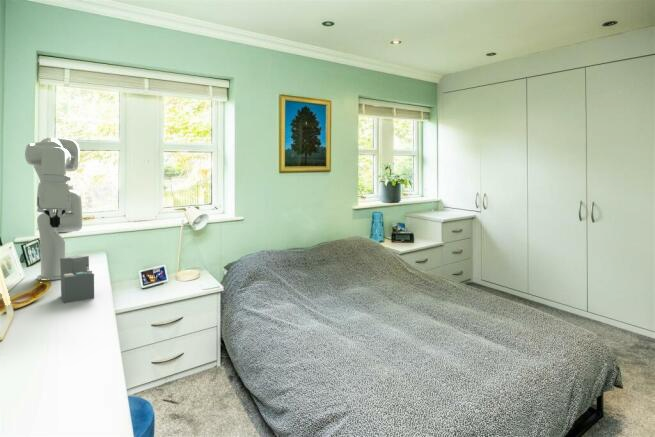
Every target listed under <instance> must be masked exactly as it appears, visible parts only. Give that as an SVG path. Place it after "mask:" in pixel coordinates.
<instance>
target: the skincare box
mask: <svg viewBox="0 0 655 437" xmlns="http://www.w3.org/2000/svg"><path fill="white" fill-rule="evenodd" d="M89 257H90V256H89V255H72V256H71V255H70V256H69V255H68V256H65V257H64V258H60V269H61V275H64V274H69V273H72V274H75V273H77V272H84V273H85V272H87V267H86V264H88V265H89V266H88V270H90V260H89V259H90V258H89Z"/></svg>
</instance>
